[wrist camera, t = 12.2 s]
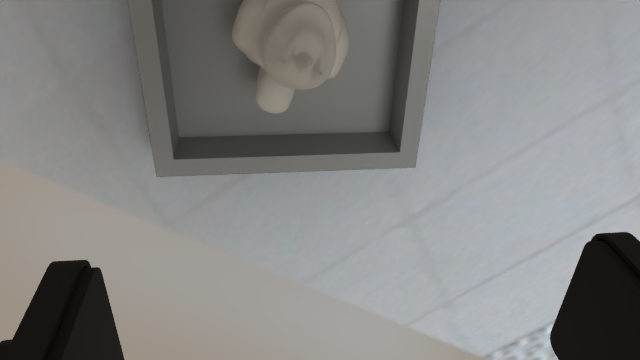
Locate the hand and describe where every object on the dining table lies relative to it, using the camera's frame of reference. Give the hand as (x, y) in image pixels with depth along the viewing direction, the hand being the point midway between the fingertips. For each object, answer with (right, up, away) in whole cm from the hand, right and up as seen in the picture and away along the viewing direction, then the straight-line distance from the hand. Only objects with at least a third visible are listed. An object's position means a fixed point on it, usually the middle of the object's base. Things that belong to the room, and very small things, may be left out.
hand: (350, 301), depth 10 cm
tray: (-3, +11, +17) cm, 20 cm away
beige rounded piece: (-2, +10, +16) cm, 19 cm away
